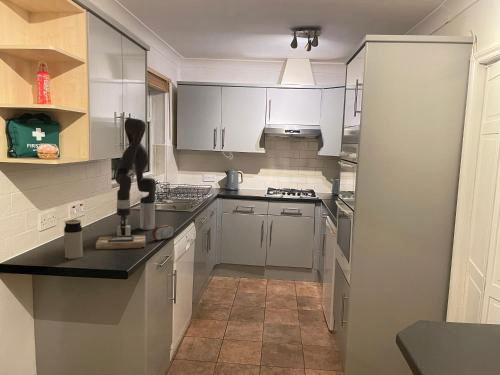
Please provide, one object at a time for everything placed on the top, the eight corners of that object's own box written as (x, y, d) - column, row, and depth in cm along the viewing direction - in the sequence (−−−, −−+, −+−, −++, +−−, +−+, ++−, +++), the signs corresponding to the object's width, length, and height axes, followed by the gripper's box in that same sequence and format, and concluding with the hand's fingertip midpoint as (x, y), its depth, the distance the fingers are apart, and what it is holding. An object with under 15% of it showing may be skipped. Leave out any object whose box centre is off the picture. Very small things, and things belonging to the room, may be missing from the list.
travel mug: (85, 254, 197) (84, 219, 195) (78, 259, 190) (77, 223, 187) (69, 254, 197) (68, 219, 195) (62, 259, 189) (61, 222, 187)
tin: (172, 236, 239) (172, 222, 238) (175, 237, 237) (175, 223, 236) (151, 240, 228) (151, 226, 227) (155, 241, 226) (155, 227, 225)
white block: (118, 236, 234) (117, 225, 233) (130, 236, 235) (130, 225, 234) (117, 238, 229) (117, 227, 228) (129, 238, 231) (129, 227, 230)
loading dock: (99, 241, 222) (99, 234, 221) (145, 240, 228) (145, 233, 227) (95, 249, 207) (95, 241, 207) (144, 247, 213) (144, 240, 213)
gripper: (118, 204, 236) (118, 232, 238) (115, 209, 222) (115, 238, 224) (131, 204, 238) (131, 232, 240) (129, 209, 224) (129, 238, 226)
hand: (123, 235), depth 232 cm, fingers closed on white block, 5 cm apart
